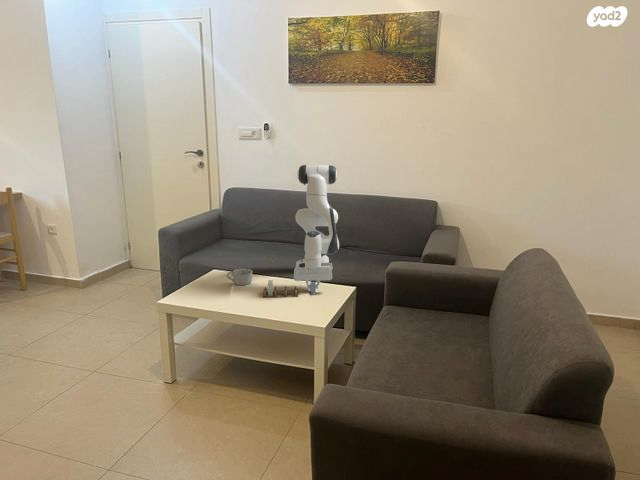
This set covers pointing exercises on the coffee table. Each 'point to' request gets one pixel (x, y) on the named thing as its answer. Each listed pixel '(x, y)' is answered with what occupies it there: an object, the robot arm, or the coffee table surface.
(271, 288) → the sage plate
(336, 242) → the robot arm
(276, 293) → the rack
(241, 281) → the teacup
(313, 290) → the blue plate
